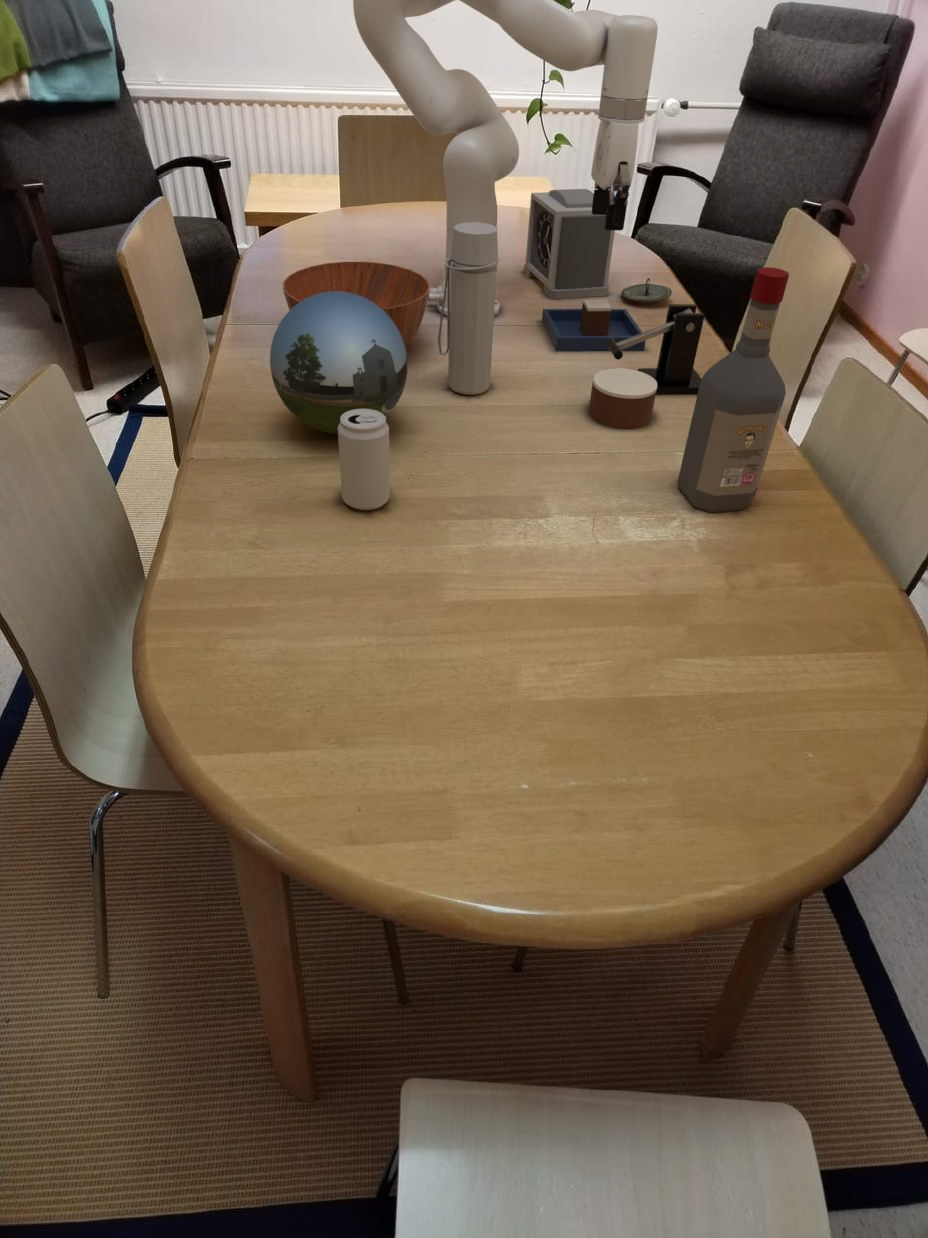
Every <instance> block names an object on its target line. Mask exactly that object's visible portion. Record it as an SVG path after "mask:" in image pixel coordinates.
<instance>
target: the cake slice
mask: <svg viewBox="0 0 928 1238" xmlns="http://www.w3.org/2000/svg"><path fill="white" fill-rule="evenodd" d="M581 309H582V313H581V321H580V331H581V333H582V334H583V336H608V329H609V322H610V316H611V309H613V308H612V307H611V304H610V303H609V302H608V301H607V300H606V299H582V305H581Z"/></svg>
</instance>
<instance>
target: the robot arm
mask: <svg viewBox="0 0 928 1238" xmlns="http://www.w3.org/2000/svg"><path fill="white" fill-rule="evenodd" d="M454 1H456V0H352V6H353V7H352V8H353V16H354V21H355V25H356V28H357V30H358V33H359V35H360V38H361V40H362V42H363V44H364V46H365V47H366V49H367V50H368V52H369V53H370V55H371V56H372V57H373V58H374V60H375V62H376V63H377V64H378V65H379V67H380V68H381V69H382V71H383V72H384V74H385V75H386V76H387V78H388V79H389V81H390V82H391V84H392V85H393V87H394V89H395V90H396V92H397V93H398V95H399V96H400V98H401V99H402V100H403V102H404V103H405V105H406V106H407V108H408V109H409V111H410V112H411V114H412V116H414V118H415V119H416V121H417V122H418V124H419V125H420V126H421V128H422V129H423V131H424V132H426V133H428V134H429V135H431V136H435V137H439V136H440V137H441V136H445V135H449V134H452V133H454V135H455V136H454V137H453V139H451V141H450V142H449V144H448V145H447V147H446V149H445V153H444V155H443V162H442V163H443V164H442V165H443V167H442V170H443V179H444V186H445V198H446V222H445V223H446V236H445V260H446V259H451V252H452V243H453V235H454V228H455V225H457V224H460V223H467V222H479V223H486V224H490V225H493V226H495V227H496V228H497V229H498V201H497V196H496V195H497V194H496V182H498V181H500V180H502V179H504V178H506V177H507V176H509V175H510V174H511V173H512V172H513V171H514V170H515V168H516V166H517V164H518V162H519V156H520V146H519V141H518V138H517V136H516V134H515V132H514V130H513V128H512V126H511V125H510V123H509V122H508V121H507V119H506V118H505V116H504V114H503V113H502V111H501V110H500V109H499V107H498V105H497V104H496V102H495V101H494V99H493V98H492V96H491V95H490V93H489V92H488V90H487V88H486V87H485V86H484V85H483V83H482V82H481V81H480V80H479V79H478V77H476V76H475V75H474V74H473V73H471V72H469V71H467V70H465V69H461V68H453V69H449V70H448V69H446V68H444V67H443V65H442V64H441V63H440V62H439V60H438V59H437V58H436V56H435V54H434V53H433V51H432V50H431V49H430V46H429V45H428V44H427V42H426V41H425V39H424V38H423V37H422V36H421V35H420V34H419V33H418V32H417V31H416V30H415V29H414V28H413V27H412V26H411V25H410V24H409V23H408V21H407V20H406V19H407V18H414V17H420V16H423V15H427V14H430V13H432V12H433V11H436V10H439V9H440V8H442V7H444V6H447V5H449V4H451V3H453V2H454ZM459 2H461V3H463V4H465V5H467V6H468V7H470V8H471V9H472V10H475V11H476V12H478V13H480V14H481V15H483V16H485V17H486V18H488V19H490V20H491V21H492V22H495V23H496V24H498V25H499V27H500V28H501V29H502V30H503V31H504V32H505V34H507V35H508V36H509V37H510V38H511V39H512V40H513V41H514V42H515V43H516V44H517V45H518V46H520V47H521V48H523V49H524V50H526V51H528V52H529V53H530V54H532V55H534V56H536V57H537V58H539V59H540V60H542V61H544V62H546V63H548V64H549V65H551V66H553V67H554V68H556V69H558V70H561V71H566V72H576V71H579V70H582V69H587V68H592V67H595V66H603V73H602V81H601V90H600V96H599V105H598V114H597V119H598V120H600V121H599V124H598V128H597V129H598V130H597V135H596V140H595V146H594V151H593V159H592V166H591V171H590V173H591V174H590V177H591V179H592V180H593V181H594V182H595V183H594V190H593V194H594V196H593V204H592V214H593V215H606V220H605V229H606V230H615V231H623V230H624V228H625V221H626V215H627V209H628V208H627V207H628V205H629V196H630V188H631V187H632V183H633V178H634V173H635V166H636V157H637V149H638V148H637V147H638V139H639V128H640V127H639V124H641V123H644V122H645V117H646V110H647V104H648V98H649V97H648V96H649V90H650V84H651V78H652V72H653V71H652V70H653V66H654V58H655V52H656V45H657V38H658V23H657V21H656V20H655V19H654V18H652V17H649V16H645V15H644V16H643V15H635V14H634V15H630V14H624V15H617V14H613V13H609V12H607V11H602V10H597V9H587V10H585V9H584V10H577V11H573V10H571V9H569V8H567V7H565V6H564V5H562V4H560V3H559V2H557V1H555V0H459ZM451 266H452V263H451ZM446 274H447V270H446V269H445V277H444V279H445V280H444V281H442V282H441V285H438V286H437V287H431V286H430V290H429V295H428V302H436V301H437V302H436V309H437V311H438V312H439V313H440V314H441V312H442V305H443V297H444V289H445V282H446ZM449 291H450V295H451V269H450V270H449ZM447 293H448V281H447V289H446V296H445V304H444V312H443V316H446V317H447ZM500 311H501V304H500V302H499V301H498V300H497V299H495V309H494V317H495V316H497V315H498V314H499V313H500Z"/></svg>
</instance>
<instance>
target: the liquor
mask: <svg viewBox="0 0 928 1238" xmlns="http://www.w3.org/2000/svg"><path fill="white" fill-rule="evenodd" d="M789 276H790V273H789V272H788V271H787V270H784V269H781V268H777V267H770V266H769V267H767V266H763V267H759V268H758V269H757V270H756V272H755V277H754V280H753V284H752V288H751V292H750V294H749V297H750V301H749V305H748V309H747V311H746V312H747V314H746V317H745V319H744V324H743V328H742V330H741V334H740V338H739V341H738V342H737V343H736V345H735V349H734V350H732V351H730V352H729V353H728V354H727V355H725V356H724V357H722V358H721V359H720V360H718V361H717V362H716V363H714V364H713V365H712V366H711V367H710V368H708V369H707V370H706V371H705V372H704V374H703V375H702V377H701V381H700V386H699V390H698V394H696V400H695V403H694V408H693V412H692V417H691V421H690V425H689V430H688V434H687V438H686V443H685V448H684V451H683V456H682V460H681V465H680V469H679V473H678V477H677V485H678V488H679V490H680V491H681V493H682V494H683V495H684V496H685V497H686V499H687V500H688V501H689V503H690V504H691V505H692V506H693V507H694V508H696V509H699V510H702V511H706V512H709V513H719V512H721V513H723V512H731V511H732V512H733V511H744V510H745V509H746V508H747V507H748V506H749V505H750V504H751V502H752V501H753V500H754V499H755V497H756V494H757V491H758V489H759V488H758V487H759V484H760V481H761V477H762V474H763V472H764V467H765V465H766V461H767V458H768V454H769V451H770V448H771V444H772V440H773V438H774V435H775V431H776V428H777V425H778V422H779V421H778V420H779V417H780V415H781V411H782V407H783V404H784V401H785V398H786V394H787V392H786V384H785V382H784V380H783V378H782V376H781V375H780V373H779V371H778V369H777V368H776V365H775V364H774V362H773V360H772V358H771V357H770V352H771V346H770V343H771V339H772V335H773V333H774V328H775V324H776V320H777V317H778V312H779V309H780V305H781V302H783V301H784V297H785V296H784V295H785V293H786V292H785V291H786V290H787V289H786V288H787V284H788V281H789Z"/></svg>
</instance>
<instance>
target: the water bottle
mask: <svg viewBox="0 0 928 1238" xmlns="http://www.w3.org/2000/svg"><path fill="white" fill-rule="evenodd" d="M498 243H499V242H498V227H497V228H496V227H495V226H493V225H490V224H486V223H479V222H467V223H460V224H457V225H455V228H454V235H453V243H452V252H451V259H446V258H445V260H444V265H445V271H446V270H447V274H446V273H445V276H446V282H445V289H444V297H443V305H442V312H441V313H440V321H439V329H438V335H437V345H438V346H437V347H438V349H437V350H438V353H439V355H440V356H443V357H445V356H446V355H447V354H448V365H447V366H448V369H447V370H448V371H447V386H448V387H449V388H450V389H451V390H452V391H453V392H455V393H458V394H461V395H465V396H466V395H468V396H475V395H481V394H483V393H485V392H486V391H488V390H489V389H490V386H491V373H492V372H491V371H492V357H493V338H494V323H495V316H494V309H495V300H496V294H497V293H496V291H497V277H498V276H497V275H498V265H499V261H500V259H499V248H498V247H499V245H498ZM451 263H452V266H451ZM450 269H451V295H450V291H449V270H450ZM447 281H448V293H447V316H446V319H447V321H446V325H447V326H446V351H445V352H443V351H442V345H441V344H442V343H441V341H442V340H441V335H442V326H443V318H444V314H443V312H444V304H445V296H446V289H447Z"/></svg>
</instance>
